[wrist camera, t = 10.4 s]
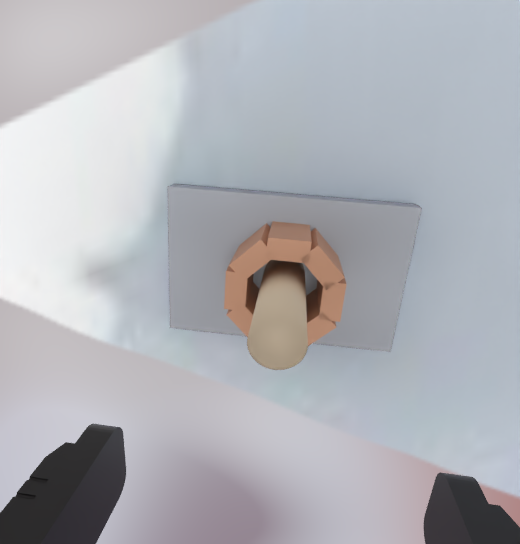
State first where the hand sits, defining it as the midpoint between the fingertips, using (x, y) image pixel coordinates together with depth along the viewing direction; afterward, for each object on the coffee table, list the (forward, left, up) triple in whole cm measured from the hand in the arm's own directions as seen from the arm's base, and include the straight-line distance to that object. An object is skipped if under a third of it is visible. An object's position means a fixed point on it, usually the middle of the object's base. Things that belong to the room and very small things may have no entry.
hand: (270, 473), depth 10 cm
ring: (0, 0, -14) cm, 14 cm away
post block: (0, 0, -15) cm, 15 cm away
